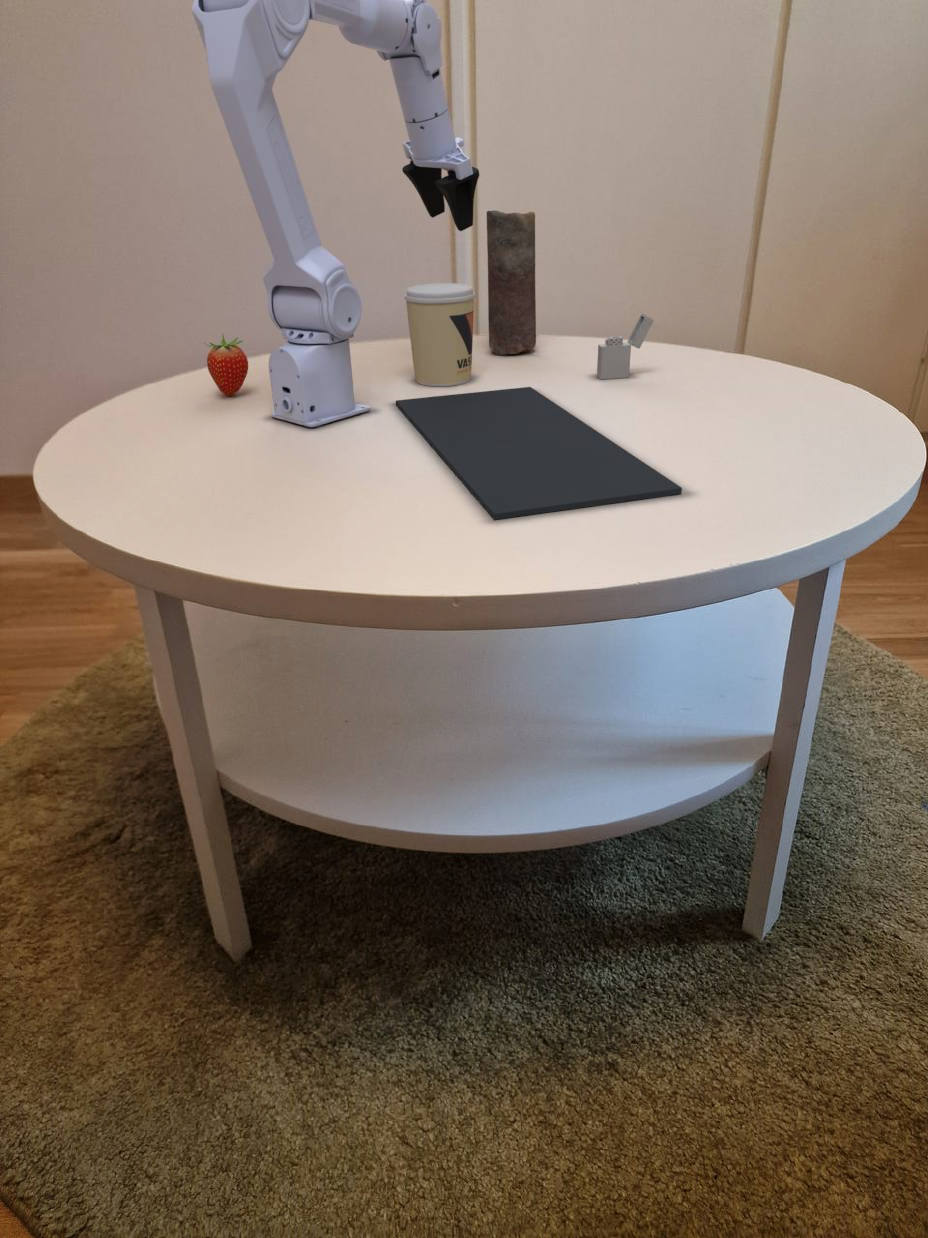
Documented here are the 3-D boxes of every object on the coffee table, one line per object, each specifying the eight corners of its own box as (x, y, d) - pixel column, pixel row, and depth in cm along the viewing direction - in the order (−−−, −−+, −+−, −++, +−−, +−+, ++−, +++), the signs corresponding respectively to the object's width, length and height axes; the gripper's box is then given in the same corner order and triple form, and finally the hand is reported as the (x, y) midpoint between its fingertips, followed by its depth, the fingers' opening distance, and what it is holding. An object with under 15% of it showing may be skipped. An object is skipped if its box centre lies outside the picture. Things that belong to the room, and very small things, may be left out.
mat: (681, 493, 78) (682, 487, 77) (494, 520, 74) (494, 513, 73) (530, 391, 111) (530, 386, 111) (395, 405, 107) (395, 400, 107)
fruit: (219, 390, 116) (209, 329, 112) (256, 390, 116) (247, 329, 112) (207, 401, 111) (196, 338, 107) (246, 400, 111) (236, 337, 107)
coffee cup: (469, 388, 113) (467, 293, 107) (401, 387, 115) (396, 293, 109) (482, 372, 121) (480, 282, 115) (418, 371, 123) (414, 282, 117)
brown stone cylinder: (484, 347, 136) (482, 208, 126) (529, 344, 137) (530, 206, 127) (494, 357, 130) (492, 212, 120) (540, 354, 131) (543, 209, 121)
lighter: (600, 379, 116) (603, 317, 112) (596, 376, 117) (599, 315, 113) (650, 375, 117) (654, 314, 113) (645, 372, 118) (650, 312, 114)
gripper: (482, 109, 103) (503, 221, 113) (424, 92, 113) (449, 196, 122) (434, 132, 102) (459, 243, 111) (379, 113, 111) (407, 217, 121)
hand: (451, 220), depth 117 cm, fingers open, 7 cm apart
